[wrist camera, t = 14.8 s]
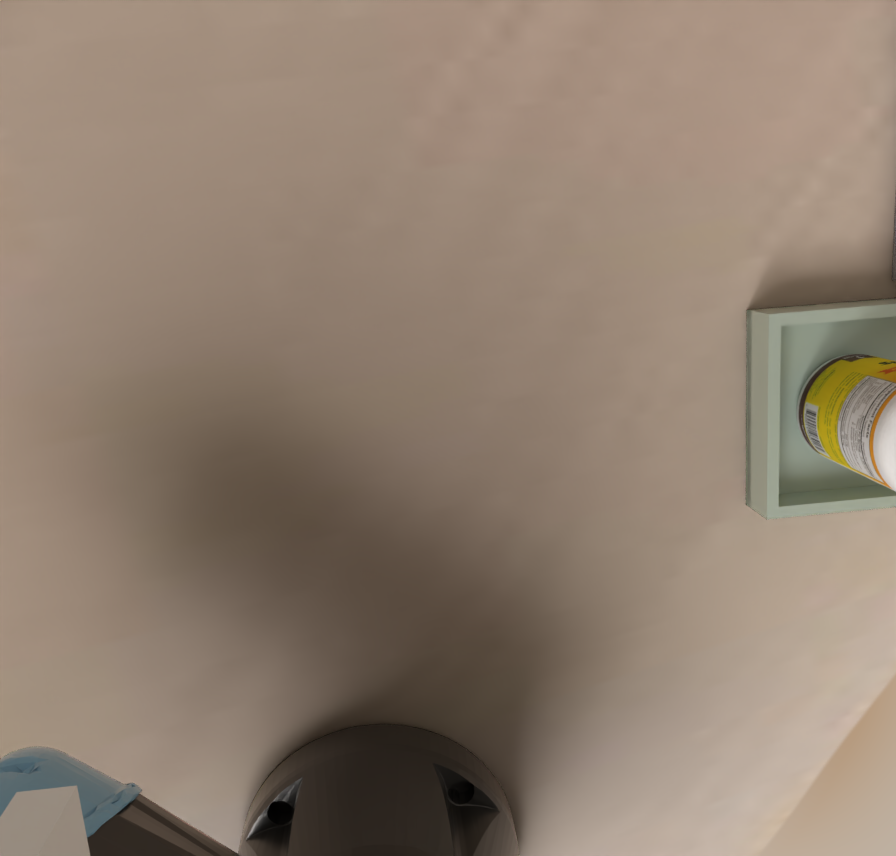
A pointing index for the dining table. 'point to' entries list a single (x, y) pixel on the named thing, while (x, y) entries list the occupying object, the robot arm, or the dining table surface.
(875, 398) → the supplement bottle
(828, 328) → the tray
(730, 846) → the dining table surface
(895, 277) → the twin cylinder holder
